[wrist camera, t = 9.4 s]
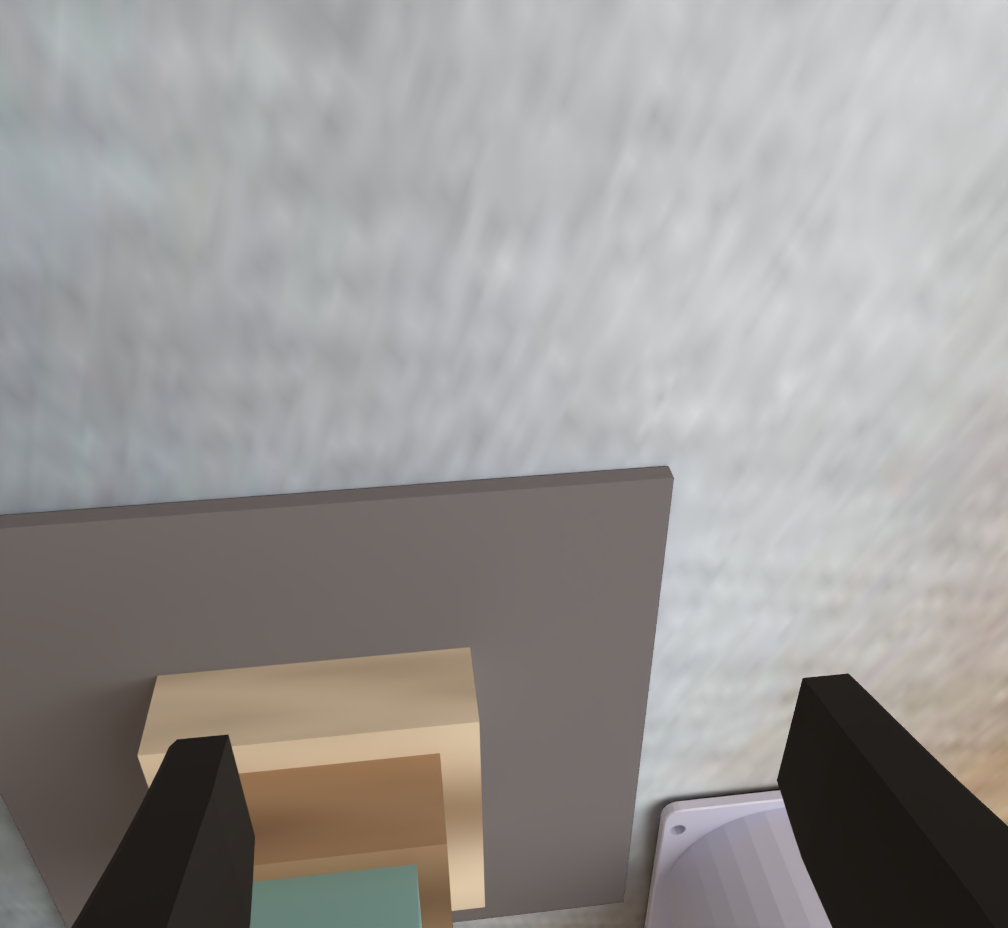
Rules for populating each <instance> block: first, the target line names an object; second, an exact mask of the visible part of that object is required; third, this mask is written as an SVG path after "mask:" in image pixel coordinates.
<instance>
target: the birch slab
mask: <svg viewBox="0 0 1008 928" xmlns="http://www.w3.org/2000/svg"><path fill="white" fill-rule="evenodd" d="M227 734H229V738H230V742H231V746H232V750H233V754H234V757H235V761H236V765H237V769H238V773H239V774H240V773H250V772H260V771H270V770H279V769H289V768H299V767H309V766H319V765H328V764H338V763H348V762H358V761H368V760H377V759H387V758H397V757H407V756H417V755H426V754H436V753H440V759H441V772H442V784H443V797H444V810H445V823H446V836H447V850H448V864H449V879H450V894H451V909H452V911H456V910H465V909H473V908H481V907H485V889H484V856H483V823H482V790H481V757H480V724H479V714H478V706H477V698H476V690H475V682H474V674H473V666H472V658H471V650H470V647H467V648H456V649H445V650H434V651H423V652H412V653H401V654H390V655H379V656H369V657H358V658H347V659H336V660H325V661H314V662H303V663H292V664H281V665H270V666H259V667H248V668H237V669H226V670H215V671H204V672H193V673H182V674H171V675H160V676H157V680H156V684H155V688H154V692H153V696H152V700H151V704H150V708H149V712H148V716H147V720H146V724H145V728H144V731H143V735H142V739H141V743H140V747H139V751H138V755H137V756H138V759H139V762H140V765H141V767H142V770H143V773H144V776H145V779H146V782H147V785H148V787H150V785H151V783H152V781H153V779H154V777H155V775H156V773H157V771H158V769H159V767H160V765H161V763H162V761H163V759H164V757H165V754H166V752H167V750H168V748H169V746H170V745H171V744H173V743H174V742H175V741H176V740H177V739H186V738H196V737H206V736H217V735H227Z"/></svg>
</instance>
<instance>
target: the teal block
mask: <svg viewBox="0 0 1008 928" xmlns="http://www.w3.org/2000/svg"><path fill="white" fill-rule="evenodd" d="M250 928H422V921H421V910H420V899H419V888H418V876H417V865H416V864H413V865H404V866H395V867H385V868H376V869H367V870H358V871H349V872H340V873H331V874H321V875H312V876H303V877H294V878H285V879H276V880H266V881H257V882H253V889H252V905H251V921H250Z"/></svg>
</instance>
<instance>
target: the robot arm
mask: <svg viewBox="0 0 1008 928" xmlns="http://www.w3.org/2000/svg"><path fill="white" fill-rule="evenodd" d="M777 782H778V785H779V788H780V790H776V791H767V792H758V793H749V794H740V795H731V796H722V797H712V798H703V799H694V800H685V801H677V802H672V803H670V804H668V805H667V806H666V807H664V809H663V810H662V812H661V818H660V825H659V832H658V838H657V845H656V852H655V859H654V866H653V873H652V880H651V886H650V893H649V900H648V907H647V914H646V921H645V927H644V928H1008V826H1007V825H1006V824H1005V823H1004V822H1003V821H1002V820H1001V819H1000V818H998V817H997V816H996V815H995V814H994V813H993V812H992V811H991V810H990V809H989V808H988V807H987V806H985V805H984V804H983V803H982V802H981V801H980V800H979V799H978V798H977V797H976V796H975V795H973V794H972V793H971V792H970V791H969V790H968V789H967V788H966V787H965V786H964V785H963V784H962V783H960V782H959V781H958V780H957V779H956V778H955V777H954V776H953V775H952V774H951V773H950V772H949V771H948V770H947V769H946V768H945V767H944V766H943V765H942V764H940V763H939V762H938V761H937V760H936V759H935V758H934V757H933V756H932V755H931V754H930V753H929V752H928V751H927V750H926V749H925V748H924V747H923V746H922V745H921V744H920V743H919V742H918V741H917V740H916V739H915V738H914V737H913V736H912V735H911V734H910V733H909V732H908V731H907V730H906V729H905V728H904V727H903V726H902V725H901V724H899V723H898V722H897V721H896V720H895V719H894V718H893V717H892V716H891V715H890V714H889V713H888V712H887V711H886V710H885V709H884V708H883V707H882V706H881V705H880V704H879V703H878V702H877V701H876V700H875V699H874V698H873V697H872V696H871V695H870V694H869V693H868V692H867V691H866V690H865V689H864V688H863V687H862V686H861V685H860V684H859V683H858V682H857V681H856V680H855V679H854V678H853V677H851V676H850V675H849V674H840V675H830V676H819V677H809V678H803V679H802V683H801V687H800V691H799V695H798V699H797V703H796V707H795V711H794V715H793V719H792V723H791V727H790V731H789V735H788V739H787V743H786V747H785V751H784V755H783V759H782V763H781V767H780V770H779V774H778V778H777ZM254 850H255V834H254V830H253V827H252V823H251V819H250V815H249V811H248V807H247V804H246V800H245V796H244V792H243V788H242V784H241V781H240V777H239V773H238V769H237V765H236V761H235V757H234V754H233V750H232V746H231V742H230V738H229V734H227V735H217V736H206V737H196V738H186V739H177V740H176V741H175V742H174V743H173V744H171V745H170V746H169V748H168V750H167V752H166V754H165V757H164V759H163V761H162V763H161V765H160V767H159V769H158V771H157V773H156V775H155V777H154V779H153V781H152V783H151V785H150V787H149V789H148V791H147V793H146V795H145V797H144V799H143V801H142V803H141V805H140V807H139V809H138V811H137V813H136V815H135V817H134V819H133V820H132V822H131V824H130V826H129V828H128V830H127V831H126V833H125V835H124V837H123V839H122V841H121V843H120V844H119V846H118V848H117V850H116V852H115V853H114V855H113V857H112V859H111V860H110V862H109V864H108V866H107V867H106V869H105V871H104V873H103V874H102V876H101V878H100V879H99V881H98V883H97V885H96V886H95V888H94V890H93V891H92V893H91V895H90V897H89V898H88V900H87V902H86V904H85V905H84V907H83V909H82V910H81V912H80V914H79V916H78V917H77V919H76V920H75V922H74V924H73V925H72V927H71V928H250V921H251V905H252V889H253V871H254Z"/></svg>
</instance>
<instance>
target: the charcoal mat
mask: <svg viewBox="0 0 1008 928" xmlns="http://www.w3.org/2000/svg"><path fill="white" fill-rule="evenodd" d="M673 481H674V477H673V475H672V473H671V471H670V469H669V467H668V466H662V467H649V468H635V469H622V470H608V471H595V472H581V473H568V474H554V475H541V476H527V477H514V478H500V479H487V480H473V481H460V482H446V483H433V484H419V485H406V486H392V487H379V488H365V489H352V490H338V491H325V492H311V493H298V494H284V495H271V496H257V497H243V498H230V499H216V500H203V501H189V502H176V503H162V504H149V505H135V506H122V507H108V508H95V509H81V510H68V511H54V512H41V513H27V514H14V515H0V793H1V795H2V797H3V799H4V801H5V803H6V805H7V807H8V809H9V812H10V814H11V816H12V818H13V820H14V822H15V824H16V826H17V828H18V830H19V832H20V834H21V836H22V838H23V840H24V842H25V844H26V846H27V848H28V850H29V852H30V854H31V856H32V858H33V860H34V862H35V864H36V866H37V868H38V870H39V872H40V874H41V876H42V878H43V880H44V882H45V884H46V886H47V888H48V890H49V892H50V894H51V896H52V898H53V900H54V902H55V904H56V906H57V908H58V910H59V912H60V914H61V916H62V918H63V920H64V922H65V925H66V927H67V928H71V927H72V925H73V924H74V922H75V920H76V919H77V917H78V916H79V914H80V912H81V910H82V909H83V907H84V905H85V904H86V902H87V900H88V898H89V897H90V895H91V893H92V891H93V890H94V888H95V886H96V885H97V883H98V881H99V879H100V878H101V876H102V874H103V873H104V871H105V869H106V867H107V866H108V864H109V862H110V860H111V859H112V857H113V855H114V853H115V852H116V850H117V848H118V846H119V844H120V843H121V841H122V839H123V837H124V835H125V833H126V831H127V830H128V828H129V826H130V824H131V822H132V820H133V819H134V817H135V815H136V813H137V811H138V809H139V807H140V805H141V803H142V801H143V799H144V797H145V795H146V793H147V791H148V789H149V787H148V785H147V782H146V779H145V776H144V773H143V770H142V767H141V765H140V762H139V759H138V756H137V755H138V751H139V747H140V743H141V739H142V735H143V731H144V728H145V724H146V720H147V716H148V712H149V708H150V704H151V700H152V696H153V692H154V688H155V684H156V680H157V676H160V675H171V674H182V673H193V672H204V671H215V670H226V669H237V668H248V667H259V666H270V665H281V664H292V663H303V662H314V661H325V660H336V659H347V658H358V657H369V656H379V655H390V654H401V653H412V652H423V651H434V650H445V649H456V648H467V647H470V650H471V658H472V666H473V674H474V682H475V690H476V698H477V706H478V714H479V724H480V757H481V790H482V823H483V856H484V889H485V907H481V908H473V909H465V910H456V911H452V923H453V922H461V921H469V920H478V919H486V918H494V917H503V916H511V915H520V914H528V913H536V912H545V911H553V910H561V909H570V908H578V907H586V906H595V905H603V904H611V903H620V902H623V901H624V892H625V884H626V875H627V867H628V859H629V850H630V842H631V833H632V825H633V817H634V808H635V800H636V791H637V783H638V775H639V766H640V758H641V749H642V741H643V733H644V724H645V716H646V708H647V699H648V691H649V682H650V674H651V666H652V657H653V649H654V640H655V632H656V624H657V615H658V607H659V598H660V590H661V582H662V573H663V565H664V556H665V548H666V540H667V531H668V523H669V514H670V506H671V498H672V489H673Z"/></svg>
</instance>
